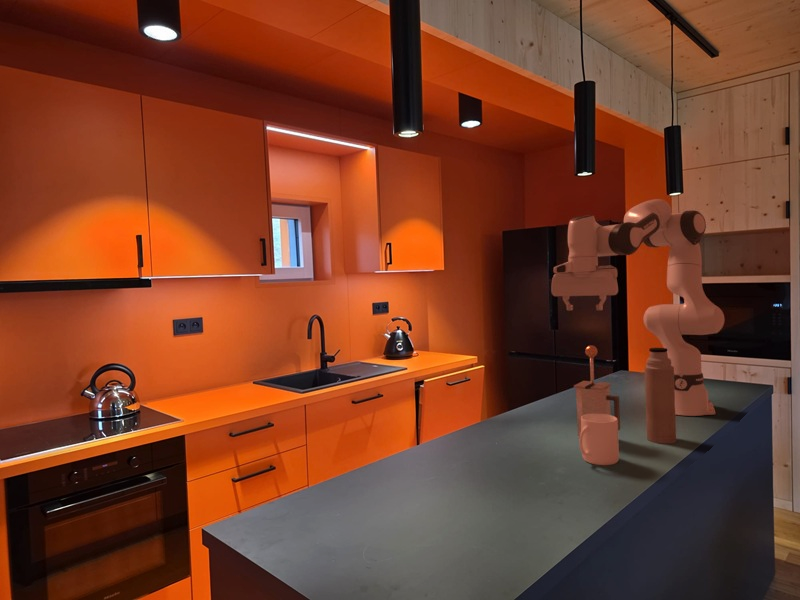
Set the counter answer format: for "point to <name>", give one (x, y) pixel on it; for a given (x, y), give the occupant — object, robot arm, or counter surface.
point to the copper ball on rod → (591, 360)
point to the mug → (599, 439)
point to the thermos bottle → (660, 397)
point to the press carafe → (595, 401)
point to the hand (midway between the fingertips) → (584, 310)
